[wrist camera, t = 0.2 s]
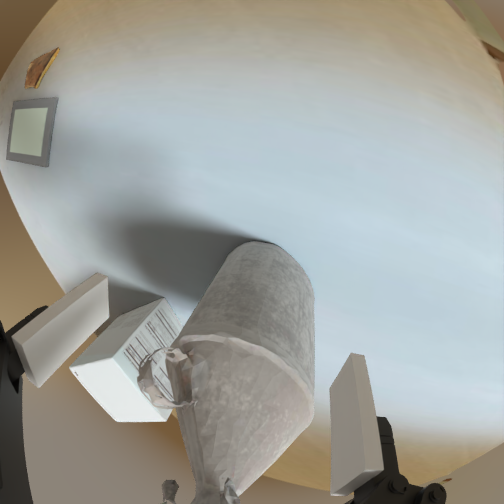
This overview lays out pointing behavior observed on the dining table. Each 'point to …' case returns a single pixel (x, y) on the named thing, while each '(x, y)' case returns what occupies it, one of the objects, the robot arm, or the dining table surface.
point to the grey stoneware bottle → (241, 372)
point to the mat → (31, 131)
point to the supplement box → (130, 362)
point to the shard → (39, 68)
